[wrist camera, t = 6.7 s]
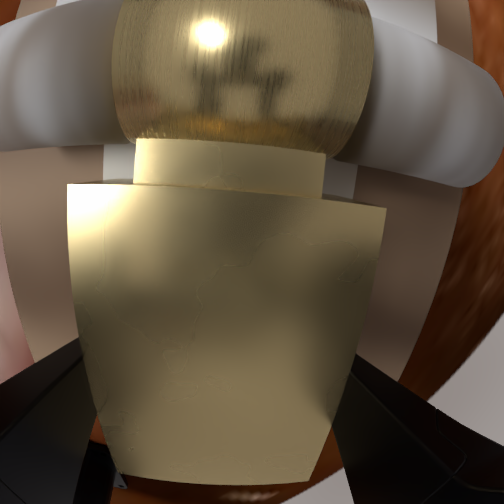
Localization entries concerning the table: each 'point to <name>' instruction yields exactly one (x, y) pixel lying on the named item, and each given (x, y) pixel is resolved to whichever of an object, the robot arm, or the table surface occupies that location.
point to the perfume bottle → (226, 239)
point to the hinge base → (336, 169)
